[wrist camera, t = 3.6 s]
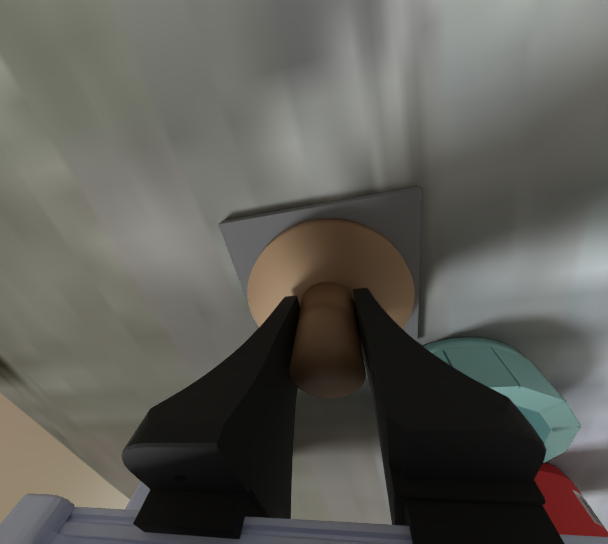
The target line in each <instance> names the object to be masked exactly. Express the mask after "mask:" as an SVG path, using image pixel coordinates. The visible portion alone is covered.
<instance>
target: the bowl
mask: <svg viewBox="0 0 608 544" xmlns="http://www.w3.org/2000/svg"><path fill="white" fill-rule="evenodd" d="M423 347H425V348H426V349H427V350H428V351H430V352H431V353H433V354H434V355H436V356H437V357H439V358H440V359H441V360H443V361H444V362H446V363H447V364H449V365H450V366H452V367H454V368H455V369H457V370H459V371H460V372H462V373H464V374H465V375H467V376H469V377H470V378H472V379H474V380H476V381H478V382H480V383H482V384H484V385H486V386H487V387H489V388H491V389H493V390H495V391H497V392H499V393H501V394H503V395H505V396H507V397H508V398H510V400H511V401H512V402H513V403H514V404H515V406H516V407H517V408H518V409H519V410H520V411H521V413H522V414H523V415H524V416H525V417H526V419H527V420H528V421H529V422H530V424H531V425H532V426H533V428H534V429H535V431H536V432H537V434H538V435H539V436H540V438H541V439H542V441H543V442H544V445H545V447H546V450H547V451H546V455H545V459H544V462H546V461H548V460H550V459H552V458H554V457H556V456H558V455H560V454H562V453H564V452H565V451H567V449H568V447H569V446H570V444H571V442H572V441H573V439H574V437H575V436H576V434H577V432H578V431H579V429H580V427H581V425H580V423H579V422H578V420H577V418H576V417H575V415H574V413H573V412H572V410H571V408H570V407H569V405H568V404H567V402H566V401H565V400H564V398H563V397H562V396H561V395H560V394H559V393H558V392H557V391H556V389H555V388H554V387H553V386H552V385H551V384H550V383H549V382H548V380H547V379H546V378H545V377H544V376H543V375H542V374H541V372H540V371H539V370H538V369H537V368H536V367H535V366H534V365H533V363H532V362H531V361H530V360H529V359H526V358H525V357H524V356H523V355H522V354H521V353H520V352H519V351H517V350H516V349H514V348H513V347H511V346H509V345H507V344H504V343H502V342H499V341H495V340H491V339H485V338H476V337H459V338H451V339H445V340H440V341H436V342H432V343H429V344H426V345H424V346H423ZM544 462H543V463H544Z"/></svg>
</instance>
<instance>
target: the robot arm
mask: <svg viewBox="0 0 608 544" xmlns="http://www.w3.org/2000/svg"><path fill="white" fill-rule="evenodd" d="M353 293H354V302H355V309H356V316H357V320H358V326H359V332H360V339H361V345H362V352H363V358H364V362H365V366H366V370H367V374H368V378H369V382H370V386H371V391H372V396H373V401H374V407H375V414H376V420H377V427H378V433H379V440H380V446H381V453H382V460H383V466H384V473H385V479H386V486H387V493H388V500H389V506H390V513H391V520H392V525H385V524H368V523H350V522H333V521H315V520H298V519H291V480H292V456H293V436H294V420H295V406H296V396H297V389H298V387H297V386H296V385H295V384H294V383H293V381H292V379H291V377H290V364H291V358H292V352H293V347H294V341H295V335H296V329H297V324H298V318H299V312H300V305H299V301H298V297H297V295H295V296H286V297H284V298H283V299H282V301H281V302H280V303H279V304H278V306H277V307H276V308H275V309H274V311H273V312H272V313H271V314H270V316H269V317H268V318H267V319H266V320H265V321H264V323H263V324H262V325H261V326H260V327H259V328H258V329H257V330H256V331H255V333H254V334H253V335H252V336H251V337H250V338H249V339H248V340H247V341H246V342H245V343H244V344H243V345H242V346H241V347H239V348H238V349H237V350H236V351H235V352H234V353H233V354H232V355H230V356H229V357H228V358H227V359H225V360H224V361H223V362H222V363H220V364H219V365H218V366H217V367H215V368H214V369H213V370H211V371H210V372H209V373H207V374H206V375H204V376H203V377H202V378H200V379H199V380H197V381H196V382H194V383H193V384H191V385H190V386H188V387H186V388H185V389H183V390H182V391H180V392H178V393H177V394H175V395H173V396H172V397H170V398H168V399H166V400H165V401H163V402H161V403H159V404H158V405H156V406H154V407H152V408H151V409H150V410H149V412H148V413H147V415H146V416H145V418H144V419H143V421H142V422H141V424H140V425H139V427H138V428H137V430H136V431H135V433H134V435H133V436H132V438H131V439H130V441H129V442H128V444H127V445H126V447H125V448H124V450H123V452H122V460H123V462H124V465H125V466H126V467H127V468H128V470H129V471H130V472H132V473H133V474H134V475H135V476H136V477H137V478H138V479H139V480H140V483H139V485H138V487H137V489H136V490H135V492H134V494H133V496H132V498H131V499H130V501H129V503H128V505H127V507H126V509H125V510H122V509H105V508H104V509H103V508H87V507H74V504H73V503H71V502H70V501H69V500H67V499H65V498H63V497H60V496H57V495H48V494H27V495H24V496H23V498H22V499H21V500H20V501H19V502H18V503H17V505H16V506H15V507H14V508H13V509H12V511H11V512H10V513H9V514H8V515H7V516H6V518H5V519H4V520H3V521H2V522H1V523H0V544H608V537H596V536H578V535H561V534H559V533H558V531H557V529H556V528H555V526H554V524H553V522H552V521H551V519H550V517H549V515H548V514H547V512H546V510H545V508H544V507H543V505H544V504H545V503H546V501H545V498H544V496H543V494H542V492H541V491H540V489H539V487H538V486H537V484H536V482H535V480H534V479H535V477H536V475H537V473H538V471H539V469H540V467H541V466H542V464H543V462H544V459H545V455H546V451H547V450H546V447H545V445H544V442H543V441H542V439H541V438H540V436H539V435H538V434H537V432H536V431H535V429H534V428H533V426H532V425H531V424H530V422H529V421H528V420H527V419H526V417H525V416H524V415H523V414H522V413H521V411H520V410H519V409H518V408H517V407H516V406H515V404H514V403H513V402H512V401H511V400H510V398H508V397H507V396H505V395H503V394H501V393H499V392H497V391H495V390H493V389H491V388H489V387H487V386H486V385H484V384H482V383H480V382H478V381H476V380H474V379H472V378H470V377H469V376H467V375H465V374H464V373H462V372H460V371H459V370H457V369H455V368H454V367H452V366H450V365H449V364H447V363H446V362H444V361H443V360H441V359H440V358H439V357H437V356H436V355H434V354H433V353H431V352H430V351H428V350H427V349H426V348H425V347H423V346H422V345H421V344H419V343H418V342H417V341H416V340H415V339H413V338H412V337H411V336H410V335H409V334H407V333H406V332H405V331H404V330H403V329H402V328H401V327H400V326H399V325H398V324H397V323H396V322H395V321H394V320H393V319H392V318H391V317H390V316H389V315H388V314H387V312H386V311H385V310H384V309H383V308H382V307H381V306H380V304H379V303H378V302H377V300H376V299H375V298H374V296H373V295H372V293H371V292H370V290H369V289H368V288H358V289H353Z"/></svg>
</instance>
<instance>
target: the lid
mask: <svg viewBox="0 0 608 544" xmlns="http://www.w3.org/2000/svg"><path fill="white" fill-rule="evenodd" d="M358 288H368V289H369V290H370V292H371V293H372V295H373V296H374V298H375V299H376V300H377V302H378V303H379V304H380V306H381V307H382V308H383V309H384V310H385V311H386V312H387V314H388V315H389V316H390V317H391V318H392V319H393V320H394V321H395V322H396V323H397V324H398V325H399V326H400V327H401V328H402V329H403V328H404V326H405V325H406V323H407V322H408V320H409V317H410V315H411V313H412V309H413V306H414V298H415V292H414V283H413V279H412V276H411V273H410V271H409V268H408V266H407V265H406V263H405V261H404V260H403V258H402V256H401V255H400V253H399V252H398V250H397V248H396V247H395V246H394V245H393V244H392V243H391V242H390V241H389V240H388V239H387V238H386V237H385V236H384V235H382V234H381V233H379V232H378V231H376V230H375V229H373V228H371V227H369V226H367V225H364V224H362V223H359V222H356V221H352V220H348V219H342V218H318V219H312V220H308V221H304V222H301V223H298V224H295V225H293V226H291V227H289V228H287V229H285V230H284V231H282V232H281V233H279V234H278V235H277V236H275V237H274V238H273V239H272V240H271V241H270V242H269V243H268V244H267V245H266V247H265V248H264V249H263V251H262V252H261V254H260V256H259V257H258V259H257V261H256V263H255V264H254V266H253V268H252V271H251V273H250V276H249V280H248V286H247V297H248V304H249V308H250V311H251V314H252V316H253V318H254V320H255V322H256V323H257V325H258V326H259V327H260V326H261V325H262V324H263V323H264V321H265V320H266V319H267V318H268V317H269V316H270V314H271V313H272V312H273V311H274V309H275V308H276V307H277V306H278V304H279V303H280V302H281V301H282V299H283V298H284V297H286V296H295V295H297V297H298V301H299V305H300V312H299V318H298V324H297V329H296V335H295V341H294V347H293V352H292V358H291V364H290V377H291V379H292V381H293V383H294V384H295V385H296V386H297V387H298V388H299V389H301V390H302V391H304V392H306V393H308V394H310V395H313V396H316V397H321V398H339V397H344V396H347V395H350V394H352V393H354V392H355V391H357V390H358V389H359V388H360V387H361V386H362V385H363V383H364V381H365V377H366V372H365V366H364V359H363V352H362V345H361V339H360V332H359V326H358V320H357V316H356V309H355V302H354V293H353V289H358Z"/></svg>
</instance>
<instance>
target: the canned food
mask: <svg viewBox="0 0 608 544" xmlns="http://www.w3.org/2000/svg"><path fill="white" fill-rule="evenodd" d="M534 480H535V482H536V484H537V486H538V487H539V489H540V491H541V492H542V494H543V496H544V498H545V501H546V503H545V504H544V505H543V507H544V508H545V510H546V512H547V514H548V515H549V517H550V519H551V521H552V522H553V524H554V526H555V528H556V529H557V531H558V533H559V534H561V535H578V536H596V537H608V532H607V530H606V529H605V527H604V526H603V525H602V523H601V522H600V520H599V519H598V517H597V516H596V515H595V513H594V512H593V510H592V509H591V507H590V506H589V505H588V503H587V502H586V500H585V499H584V498H583V496H582V495H581V493H580V492H579V490H578V489H577V488H576V486H575V485H574V483H573V482H572V481H571V480H570V479H569V478H568V477H567V476H566V475H565V474H564V473H563V472H562V471H561V470H559V469H558V468H556V467H555V466H552V465H550V464H548V463H543V464H542V466H541V467H540V469H539V471H538V473H537V475H536V477H535V479H534Z"/></svg>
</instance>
